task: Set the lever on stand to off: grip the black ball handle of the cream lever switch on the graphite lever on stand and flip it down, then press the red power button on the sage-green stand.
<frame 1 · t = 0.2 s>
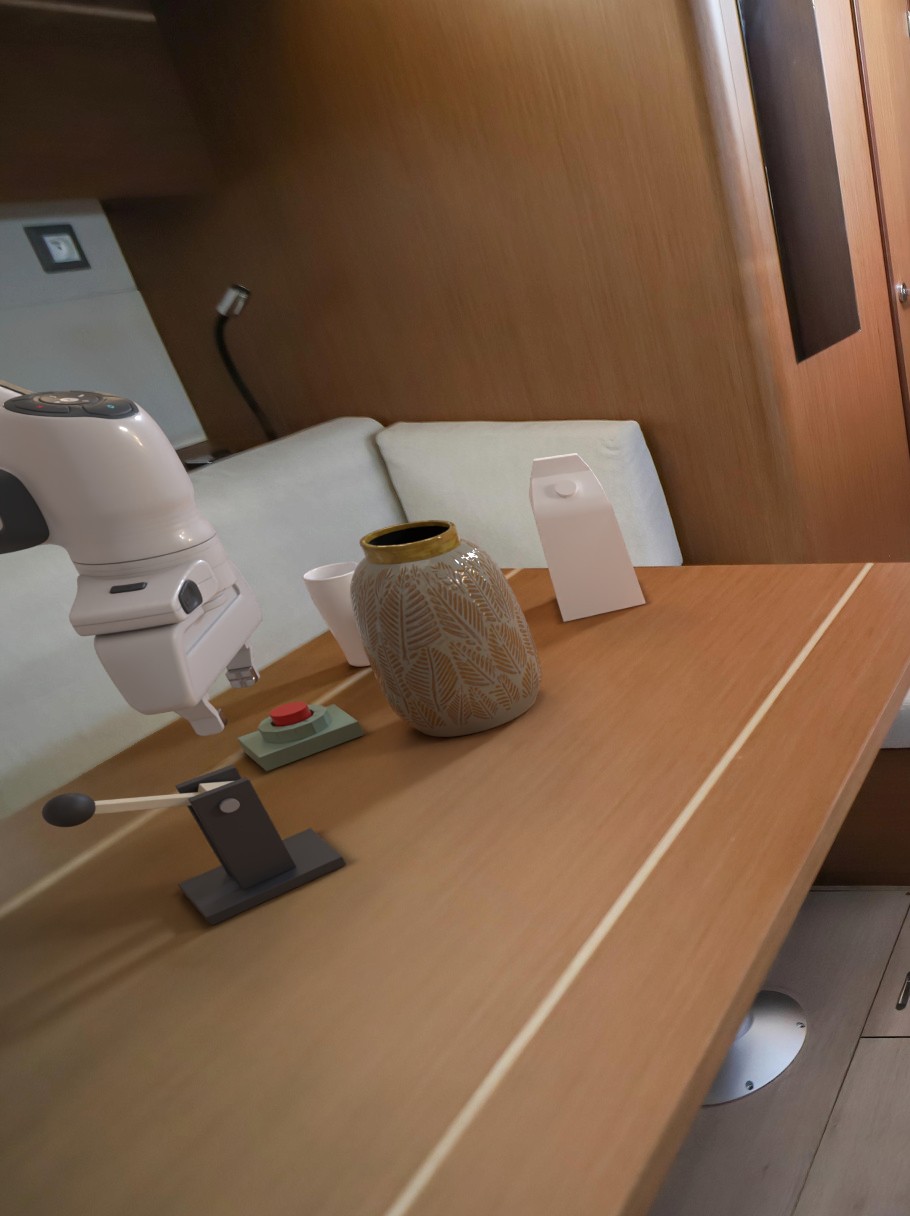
hand: (231, 706, 91), 24 cm above the table, tool pointing down, fingers open, 8 cm apart
power button: (290, 714, 124), point 4 cm above the table, slide at 0.1 cm
lever on stand: (266, 878, 103), on the table
vase: (479, 712, 134), on the table
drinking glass: (372, 660, 146), on the table
power stand: (305, 743, 126), on the table
lever switch: (146, 803, 94), point 13 cm above the table, hinge at 25.0°
milk: (601, 601, 166), on the table
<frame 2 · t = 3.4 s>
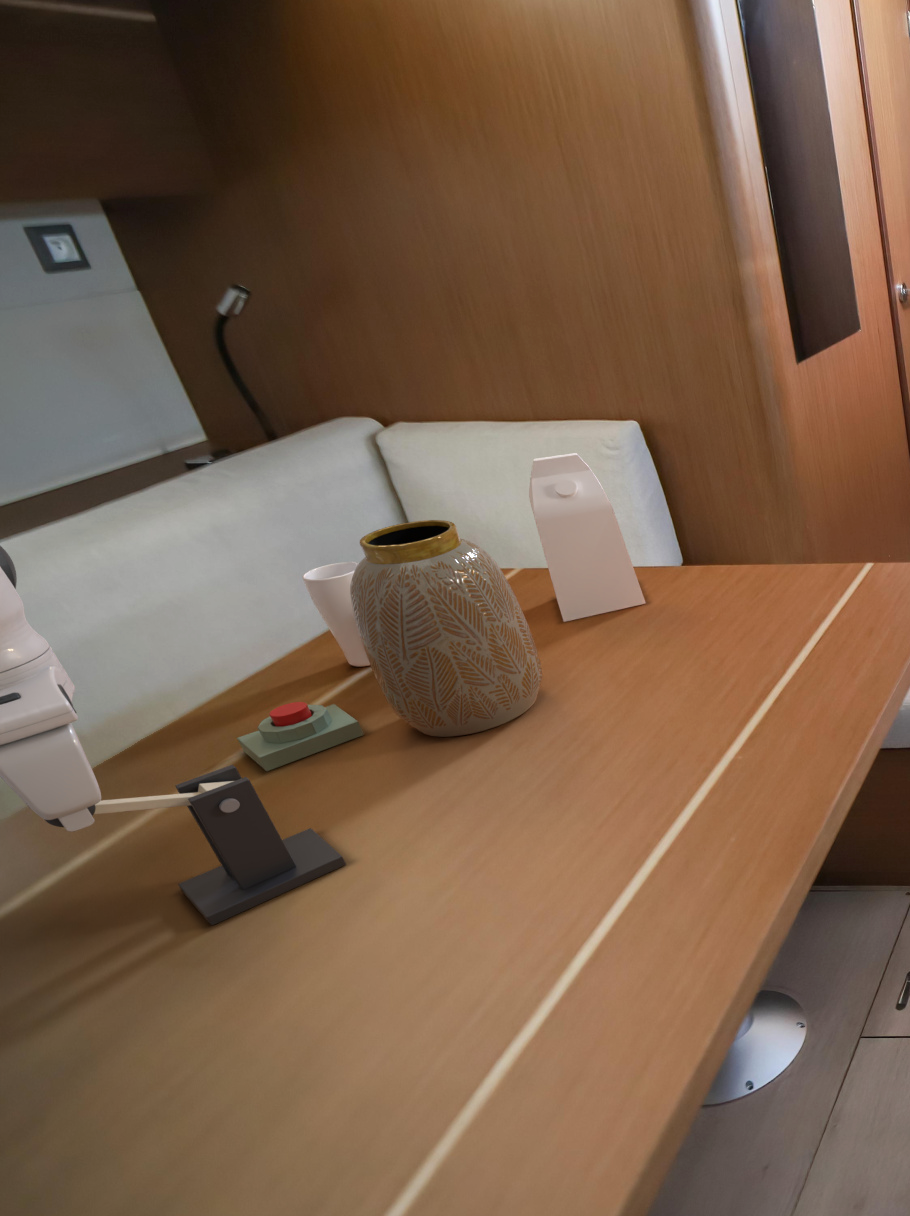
hand: (74, 817, 90), 14 cm above the table, tool pointing down, fingers closed on lever switch, 3 cm apart
lever switch: (146, 803, 94), point 13 cm above the table, hinge at 25.0°, touching gripper
everything else where it was.
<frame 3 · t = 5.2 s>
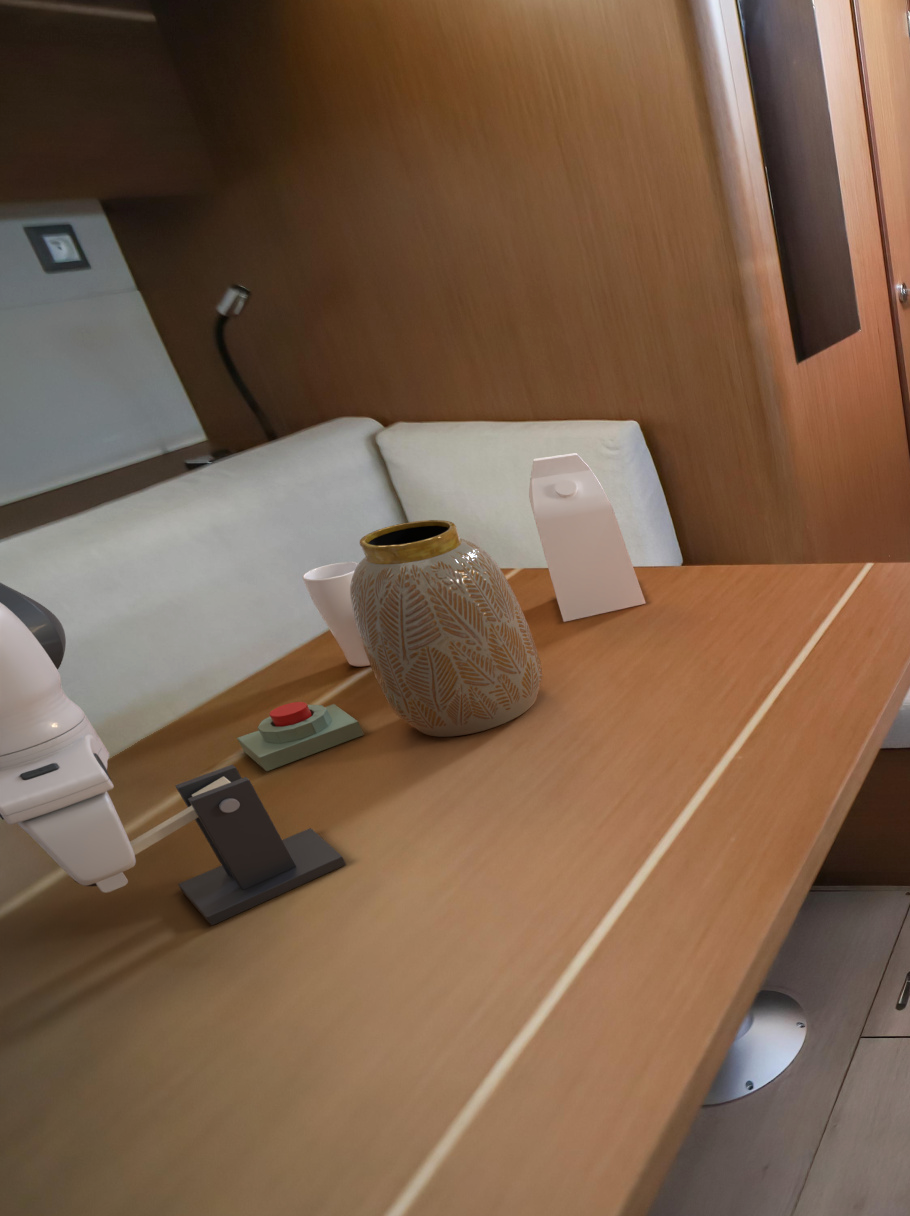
hand: (108, 877, 93), 7 cm above the table, tool pointing down, fingers closed on lever switch, 3 cm apart
lever switch: (159, 832, 95), point 10 cm above the table, hinge at -14.9°, touching gripper
everything else where it was.
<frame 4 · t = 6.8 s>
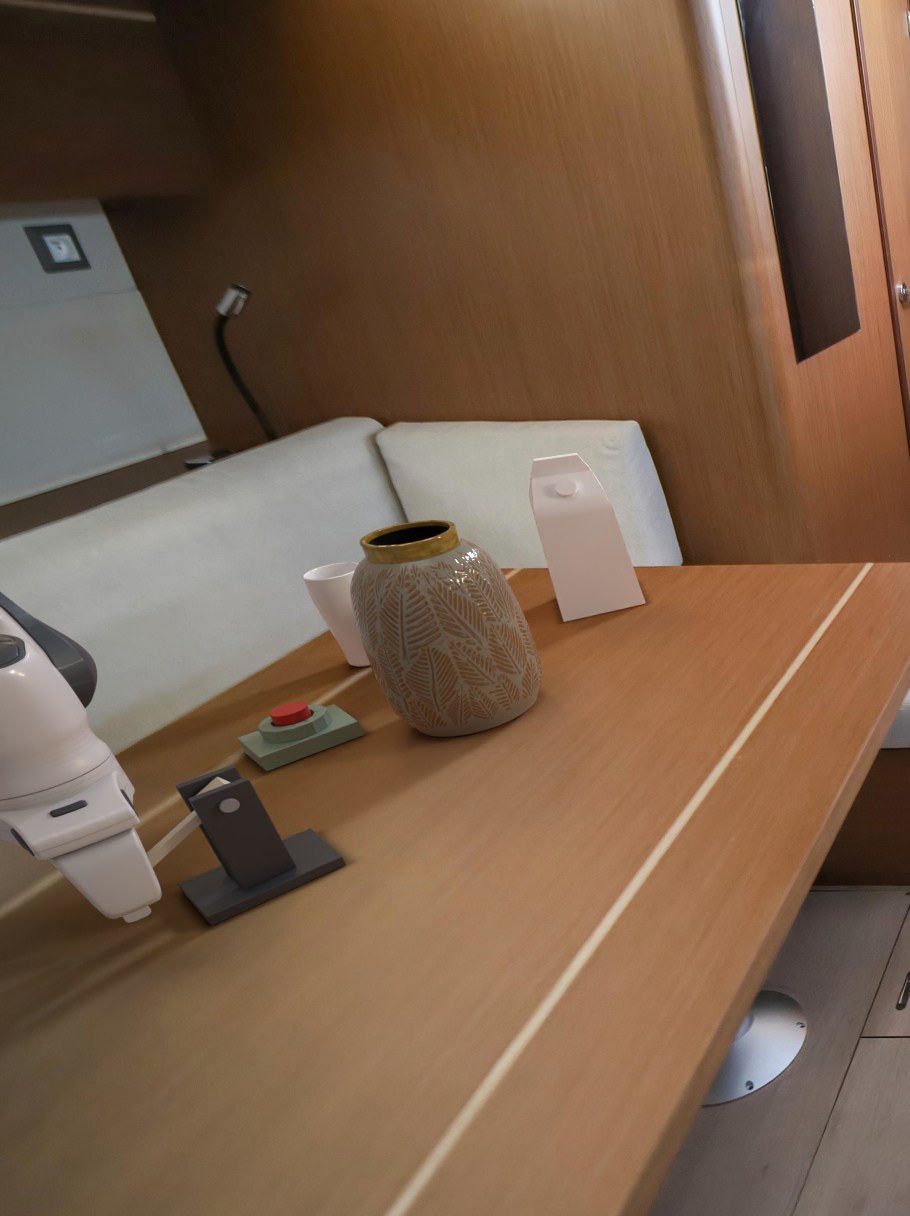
hand: (132, 909, 95), 3 cm above the table, tool pointing down, fingers closed
lever switch: (172, 839, 96), point 8 cm above the table, hinge at -30.2°
everything else where it was.
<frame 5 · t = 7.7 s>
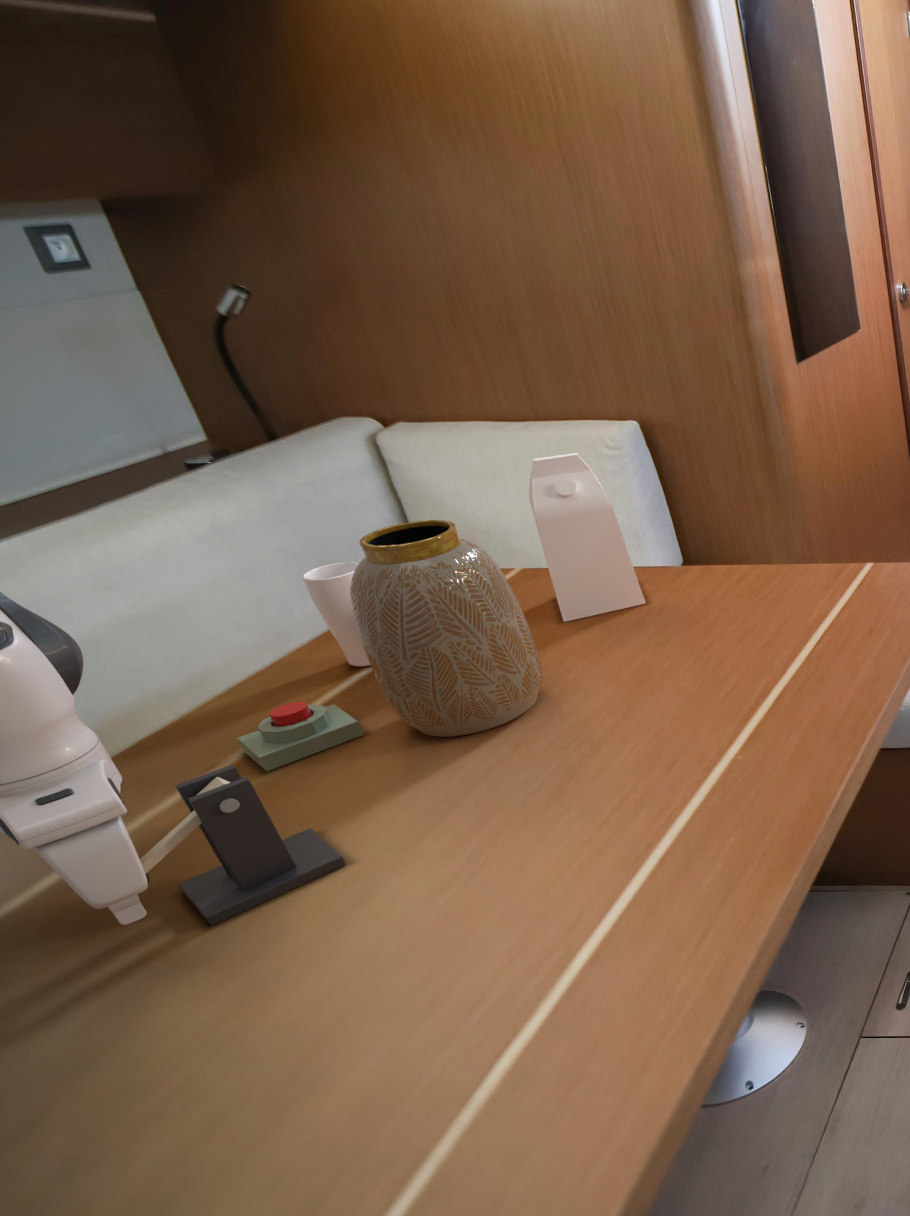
hand: (118, 899, 94), 4 cm above the table, tool pointing down, fingers open, 8 cm apart
nothing on the table moved.
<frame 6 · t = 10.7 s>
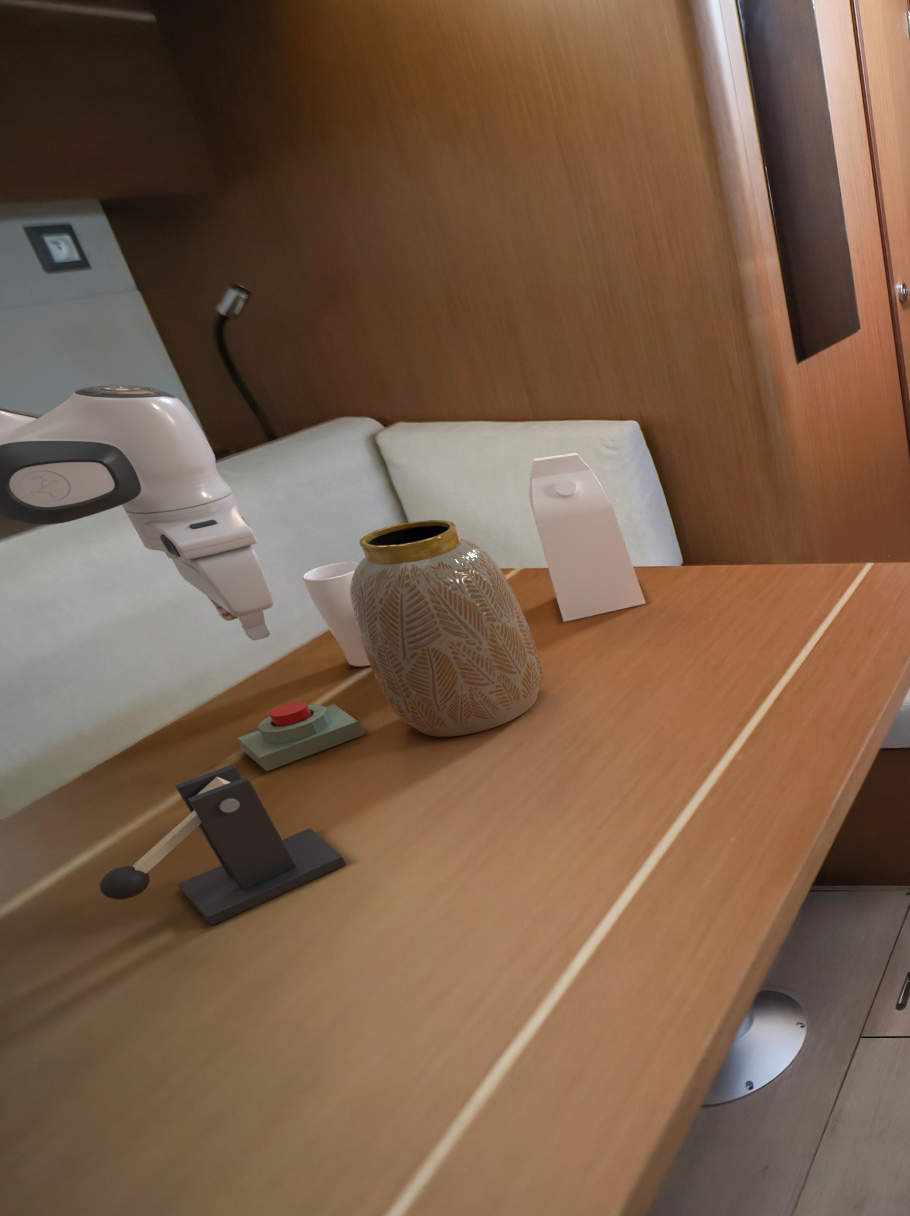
hand: (246, 627, 118), 18 cm above the table, tool pointing down, fingers open, 8 cm apart
nothing on the table moved.
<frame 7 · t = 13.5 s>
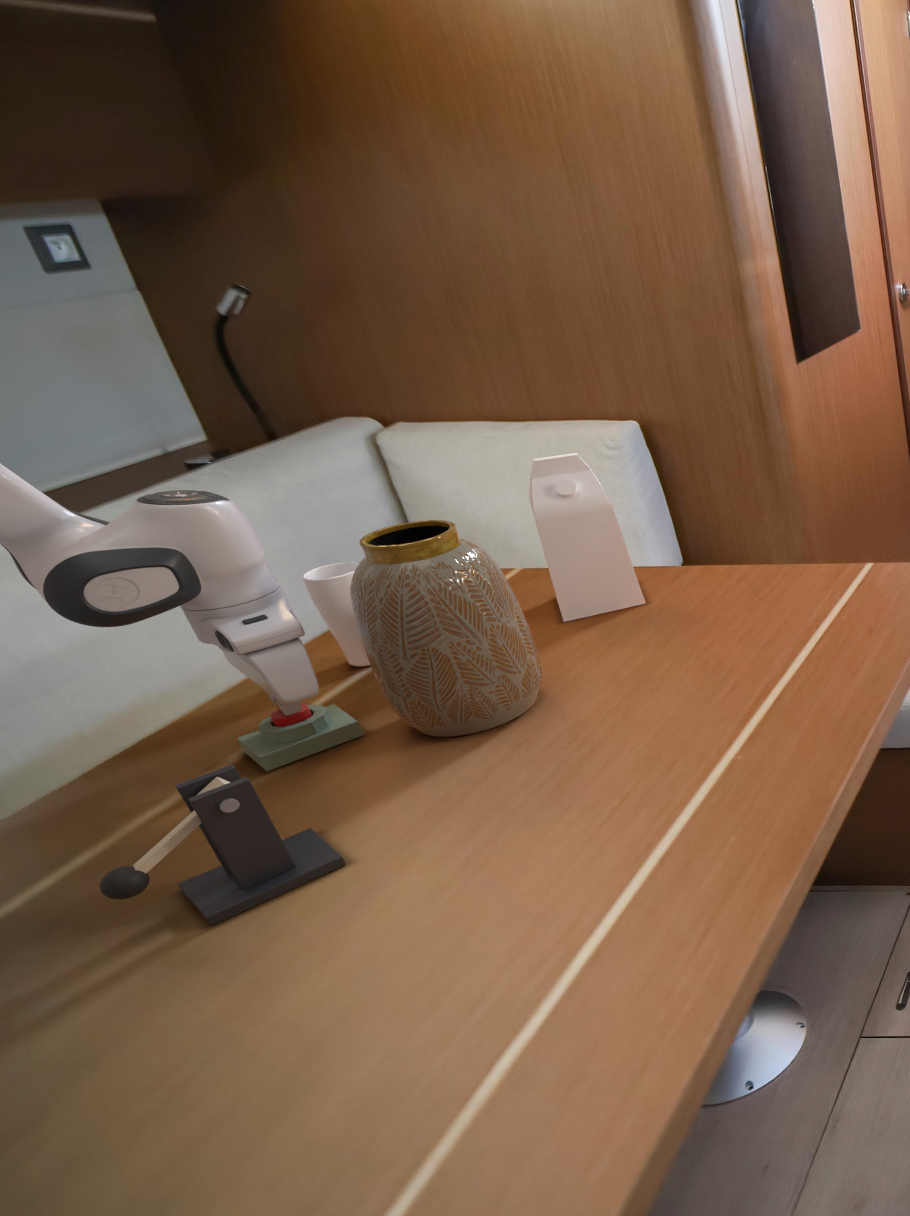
hand: (290, 710, 124), 5 cm above the table, tool pointing down, fingers closed, pressing on power button
power button: (292, 716, 124), point 4 cm above the table, slide at -0.2 cm, touching gripper
everything else where it was.
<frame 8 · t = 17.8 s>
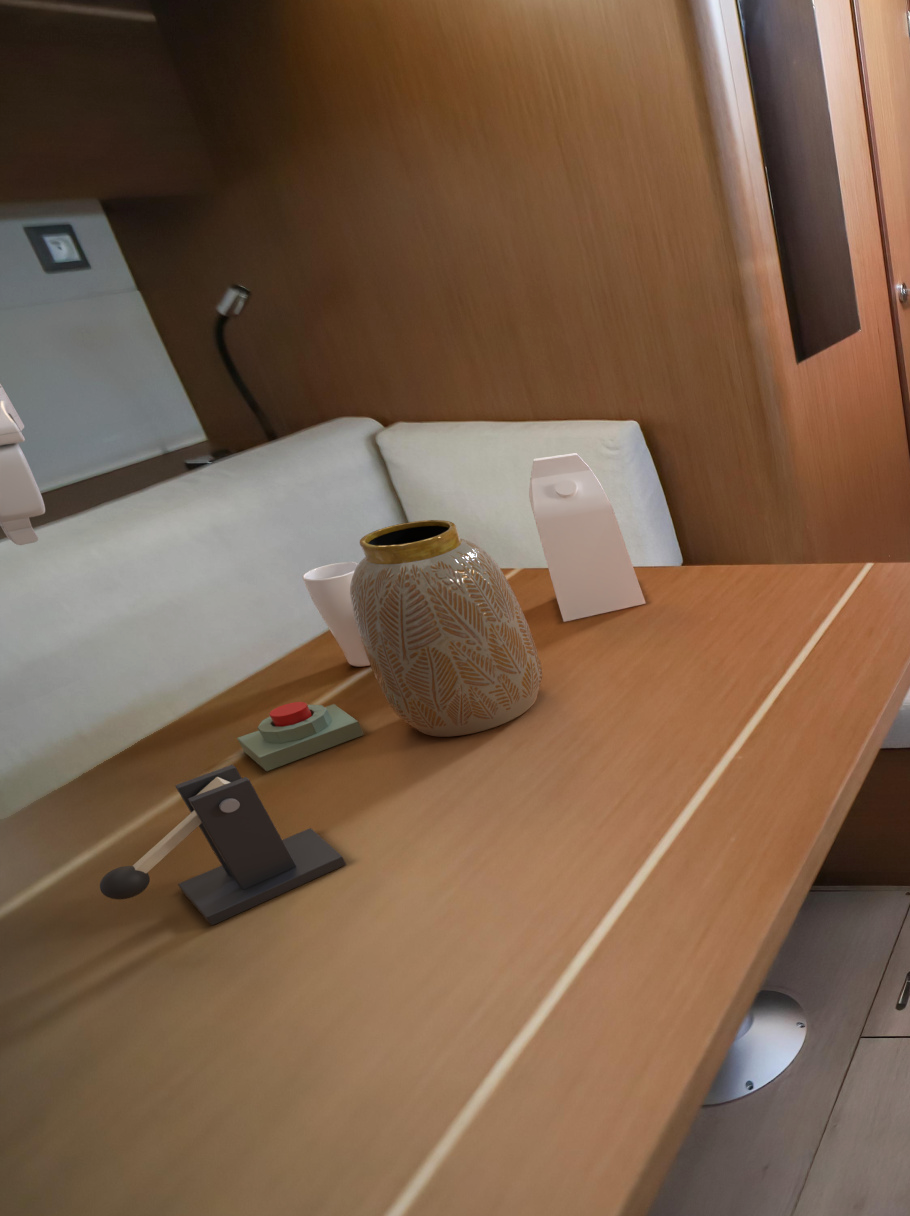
hand: (25, 541, 107), 31 cm above the table, tool pointing down, fingers closed
power button: (290, 714, 124), point 4 cm above the table, slide at 0.1 cm
everything else where it was.
at the end: lever switch at -30° (first picture: +25°); power button pushed in 1.0 cm at the most during the clip, back to where it started at the end; power button slide at 0.1 cm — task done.
